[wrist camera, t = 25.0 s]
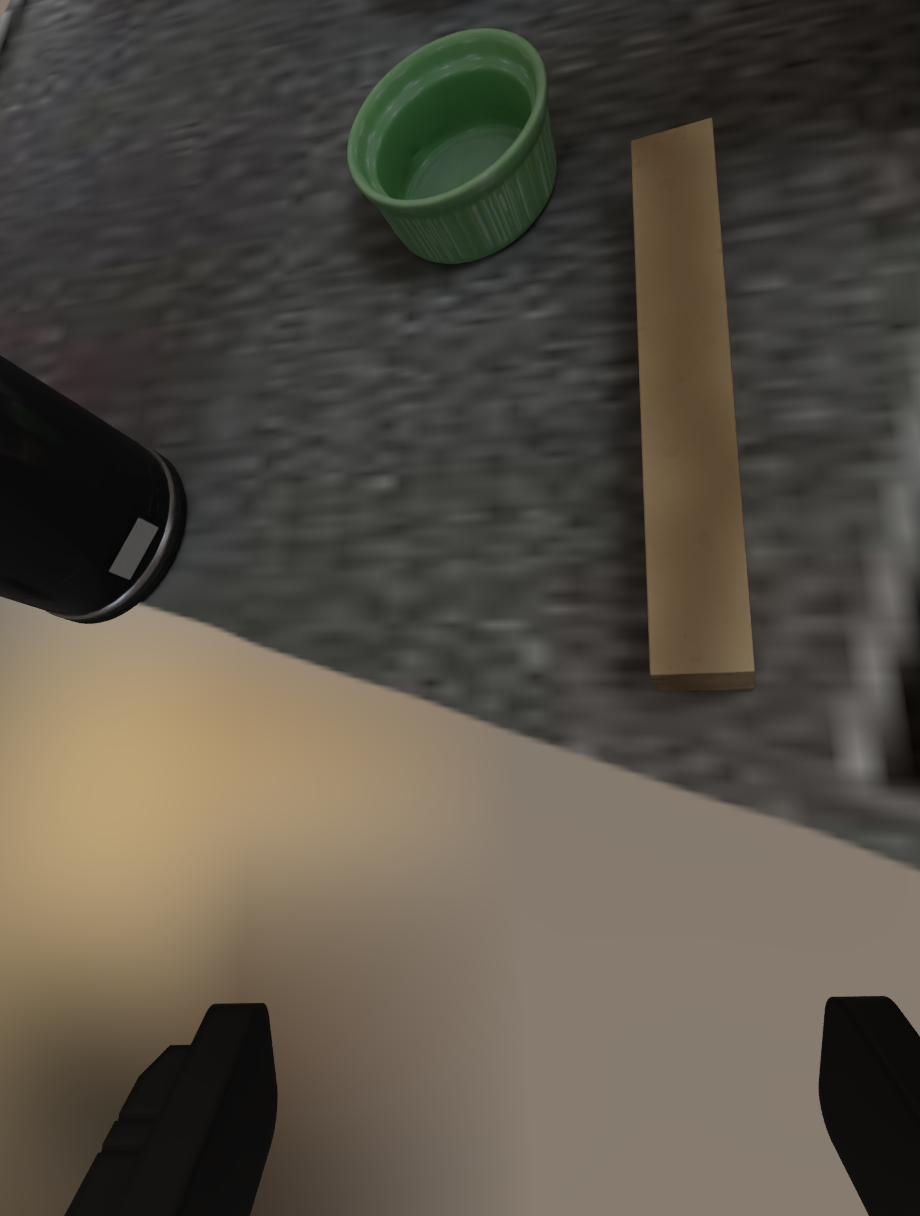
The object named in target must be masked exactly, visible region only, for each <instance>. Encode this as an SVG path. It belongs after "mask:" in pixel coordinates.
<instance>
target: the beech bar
mask: <svg viewBox="0 0 920 1216" xmlns="http://www.w3.org/2000/svg"><path fill="white" fill-rule="evenodd" d="M631 166H632V194H633V222H634V249H635V277H636V305H637V332H638V360H639V387H640V415H641V443H642V470H643V498H644V526H645V553H646V581H647V608H648V636H649V664H650V675H651V677H652V678H653V680H654V681H655V683H656V684H657V686H658V687H659V689H660V690H661V691H662V692H674V691H712V690H750V689H755V665H754V652H753V639H752V626H751V613H750V600H749V587H748V574H747V561H746V548H745V535H744V522H743V509H742V497H741V484H740V471H739V458H738V445H737V432H736V419H735V406H734V393H733V380H732V367H731V354H730V341H729V328H728V315H727V302H726V289H725V276H724V263H723V250H722V237H721V224H720V211H719V198H718V185H717V172H716V159H715V146H714V134H713V121H712V118H708V119H705V120H701V121H698V122H694V123H691V124H688V125H684V126H681V127H677V128H674V129H670V130H667V131H663V132H660V133H656V134H653V135H650V136H646V137H643V138H639V139H636V140H632V141H631Z"/></svg>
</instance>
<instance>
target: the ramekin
mask: <svg viewBox="0 0 920 1216" xmlns="http://www.w3.org/2000/svg"><path fill="white" fill-rule="evenodd" d="M347 160H348V166H349V170H350V173H351V176H352V178H353V180H354V182H355V183H356V185H357V187H358V188H359V189H360V191H361V192H362V193H363V194H364V195H365V196H366V197H367V198H368V199H369V200H370V201H371V202H372V203H373V204H374V205H376V206H377V208H378V209H379V210H380V212H381V213H382V215H383V216H384V217H385V219H386V220H387V222H388V223H389V225H390V226H391V227H392V229H393V230H394V232H395V233H396V235H397V236H398V237H399V239H400V240H401V241H402V242H403V244H404V245H405V246H406V247H407V248H408V249H409V250H410V251H412V252H413V253H414V254H416V255H417V256H419V257H421V258H423V259H425V260H428V261H432V262H435V263H443V264H461V263H467V262H472V261H475V260H478V259H481V258H483V257H486V256H489V255H491V254H494V253H496V252H498V251H499V250H501V249H503V248H504V247H506V246H508V245H509V244H511V243H512V242H513V241H515V240H516V239H517V238H518V237H520V236H521V235H522V234H523V233H524V232H525V231H526V230H527V229H528V228H529V227H530V226H531V225H532V224H533V223H534V221H535V220H536V219H537V217H538V216H539V215H540V213H541V212H542V210H543V209H544V207H545V206H546V204H547V202H548V200H549V198H550V196H551V193H552V190H553V187H554V184H555V181H556V173H557V156H556V149H555V144H554V138H553V133H552V127H551V122H550V116H549V110H548V82H547V74H546V70H545V66H544V63H543V61H542V59H541V57H540V55H539V53H538V52H537V51H536V49H535V48H534V47H533V46H532V45H531V44H530V43H529V42H528V41H527V40H525V39H524V38H522V37H521V36H519V35H516V34H515V33H512V32H509V31H505V30H500V29H490V28H485V29H471V30H466V31H460V32H457V33H454V34H451V35H448V36H445V37H442V38H440V39H437V40H435V41H433V42H431V43H429V44H427V45H425V46H423V47H421V48H420V49H418V50H417V51H415V52H413V53H412V54H410V55H409V56H408V57H406V58H405V59H403V60H402V61H401V62H400V63H398V64H397V65H396V66H395V67H394V68H393V69H392V70H390V71H389V72H388V73H387V74H386V75H385V76H384V77H383V78H382V80H381V81H380V82H379V83H378V84H377V85H376V86H375V87H374V89H373V90H372V91H371V93H370V94H369V96H368V97H367V99H366V100H365V102H364V103H363V105H362V107H361V108H360V110H359V112H358V114H357V116H356V118H355V120H354V123H353V125H352V129H351V131H350V135H349V139H348V148H347Z"/></svg>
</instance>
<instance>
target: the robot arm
mask: <svg viewBox="0 0 920 1216" xmlns="http://www.w3.org/2000/svg"><path fill="white" fill-rule="evenodd" d="M185 509H186V504H185V494H184V489H183V485H182V482H181V479H180V477H179V475H178V473H177V471H176V469H175V468H174V466H173V465H172V464H171V463H170V462H169V461H168V460H167V459H166V458H165V457H163V456H162V455H160V454H159V453H157V452H156V451H154V450H153V449H151V448H149V447H148V446H146V445H144V444H142V443H140V442H137V441H134V440H133V439H131V438H130V437H128V436H126V435H125V434H123V433H122V432H120V431H119V430H117V429H115V428H114V427H112V426H111V425H109V424H107V423H106V422H104V421H103V420H102V419H100V418H99V417H97V416H96V415H94V414H92V413H91V412H89V411H88V410H86V409H84V408H83V407H81V406H80V405H78V404H77V403H75V402H73V401H72V400H70V399H69V398H67V397H65V396H64V395H62V394H61V393H59V392H58V391H56V390H54V389H53V388H51V387H50V386H48V385H46V384H45V383H43V382H42V381H40V380H39V379H37V378H35V377H34V376H32V375H31V374H29V373H27V372H26V371H24V370H23V369H21V368H20V367H18V366H16V365H15V364H13V363H12V362H10V361H8V360H7V359H5V358H4V357H2V356H1V355H0V596H1V597H4V598H7V599H11V600H14V601H17V602H20V603H23V604H27V605H30V606H33V607H36V608H39V609H43V610H45V611H47V612H49V613H50V614H52V615H55V616H58V617H61V618H64V619H67V620H70V621H74V622H78V623H85V624H93V623H100V622H104V621H108V620H111V619H113V618H116V617H118V616H120V615H122V614H124V613H125V612H127V611H128V610H130V609H131V608H133V607H134V606H136V605H137V604H138V603H139V602H141V601H142V600H143V599H144V598H145V597H146V596H147V595H148V594H149V593H150V592H151V591H152V590H153V588H154V587H155V586H156V585H157V584H158V582H159V581H160V580H161V578H162V577H163V575H164V574H165V572H166V571H167V569H168V567H169V565H170V564H171V562H172V560H173V558H174V555H175V553H176V551H177V548H178V546H179V543H180V540H181V536H182V532H183V527H184V522H185ZM819 1099H820V1105H821V1110H822V1115H823V1118H824V1122H825V1125H826V1128H827V1131H828V1134H829V1136H830V1138H831V1141H832V1143H833V1145H834V1147H835V1149H836V1151H837V1153H838V1155H839V1157H840V1159H841V1161H842V1163H843V1165H844V1167H845V1169H846V1171H847V1173H848V1175H849V1177H850V1179H851V1181H852V1182H853V1185H854V1187H855V1189H856V1190H857V1192H858V1195H859V1197H860V1198H861V1200H862V1203H863V1205H864V1207H865V1209H866V1211H867V1212H868V1215H869V1216H920V1036H919V1035H918V1033H917V1032H916V1031H915V1029H914V1028H913V1027H912V1025H911V1024H910V1023H909V1021H908V1020H907V1019H906V1017H905V1016H904V1015H903V1013H902V1012H901V1010H900V1009H899V1008H898V1006H897V1005H896V1004H895V1003H894V1002H893V1001H892V1000H891V999H890V998H888V997H885V996H859V997H830V998H829V999H828V1001H827V1003H826V1006H825V1014H824V1026H823V1038H822V1050H821V1062H820V1075H819ZM276 1114H277V1083H276V1073H275V1065H274V1056H273V1047H272V1038H271V1031H270V1021H269V1014H268V1009H267V1006H266V1005H265V1004H264V1003H236V1004H213V1005H212V1006H210V1008H209V1009H208V1011H207V1012H206V1014H205V1017H204V1019H203V1021H202V1023H201V1025H200V1027H199V1029H198V1031H197V1033H196V1035H195V1037H194V1039H193V1041H192V1044H191V1045H170V1046H169V1047H168V1048H167V1049H166V1050H165V1051H164V1052H163V1053H162V1054H161V1055H160V1056H159V1057H158V1058H157V1059H156V1060H155V1061H154V1062H153V1063H152V1064H151V1065H150V1066H149V1067H148V1068H147V1069H146V1070H145V1071H144V1072H143V1073H142V1074H141V1075H140V1076H139V1077H138V1079H137V1081H136V1083H135V1085H134V1087H133V1089H132V1090H131V1092H130V1094H129V1096H128V1098H127V1100H126V1102H125V1104H124V1105H123V1107H122V1109H121V1111H120V1113H119V1119H118V1121H115V1122H114V1124H113V1126H112V1128H111V1130H110V1132H109V1133H108V1135H107V1137H106V1139H105V1141H104V1143H103V1146H102V1151H101V1153H98V1154H97V1156H96V1158H95V1160H94V1161H93V1163H92V1165H91V1167H90V1169H89V1171H88V1173H87V1174H86V1176H85V1178H84V1180H83V1182H82V1184H81V1186H80V1188H79V1189H78V1191H77V1193H76V1195H75V1197H74V1199H73V1201H72V1203H71V1204H70V1206H69V1208H68V1210H67V1212H66V1214H65V1215H64V1216H250V1213H251V1210H252V1207H253V1203H254V1200H255V1196H256V1193H257V1190H258V1187H259V1183H260V1180H261V1176H262V1173H263V1170H264V1166H265V1163H266V1160H267V1156H268V1153H269V1149H270V1146H271V1142H272V1139H273V1134H274V1129H275V1122H276Z"/></svg>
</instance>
